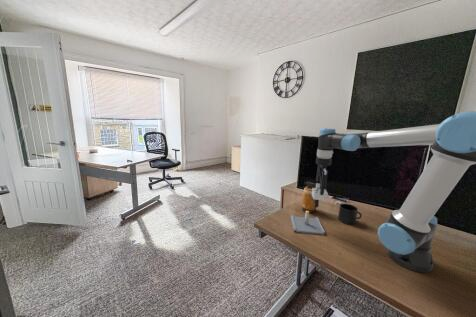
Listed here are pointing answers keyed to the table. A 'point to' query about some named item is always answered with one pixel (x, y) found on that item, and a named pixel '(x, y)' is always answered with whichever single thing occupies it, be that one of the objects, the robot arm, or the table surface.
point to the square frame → (316, 191)
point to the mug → (348, 214)
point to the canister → (309, 198)
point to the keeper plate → (305, 228)
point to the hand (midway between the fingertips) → (319, 196)
